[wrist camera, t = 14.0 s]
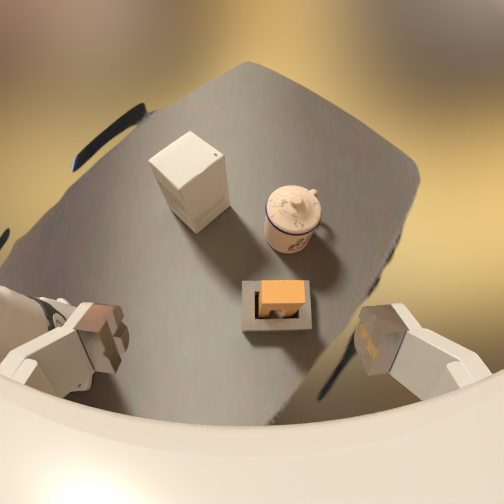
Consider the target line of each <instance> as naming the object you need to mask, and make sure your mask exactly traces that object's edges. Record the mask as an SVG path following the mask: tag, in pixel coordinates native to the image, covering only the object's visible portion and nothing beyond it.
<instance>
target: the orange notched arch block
mask: <svg viewBox="0 0 504 504" xmlns="http://www.w3.org/2000/svg"><path fill="white" fill-rule="evenodd" d="M304 304H305V288H304V280H262V282H261V288H260V293H259V298H258V317H268V315H269V313H270V311H271V310H282V317H291V316H293V315H294V314H295V313H296V312H297V311H298V310H299V309H300V308H301V307H302V306H303V305H304Z"/></svg>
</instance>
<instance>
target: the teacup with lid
mask: <svg viewBox="0 0 504 504" xmlns="http://www.w3.org/2000/svg"><path fill="white" fill-rule="evenodd" d="M317 195H318V192H317V191H316V190H314V189H312V190H310V191H308V190H307V189H305V188H302V187H299V186H284V187H281V188H279V189H277V190H275V191H274V192H273V193H272V194H271V195H270V196H269V198H268V200H267V202H266V220H265V227H264V234H265V238H266V240H267V242H268V244H269V245H270V246H271V247H272V248H274V249H275V250H277V251H279V252H282V253H296V252H298V251H300V250H302V249H303V248H304V247H305V246H306V245H307V244H308V242H309V240H310V238H311V236H312V234H313V232H314V230H315V228H316V227H317V226H318V224H319V223H320V220H321V216H322V211H321V206H320V203H319V201H318V199H317Z"/></svg>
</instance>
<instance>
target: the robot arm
mask: <svg viewBox="0 0 504 504" xmlns="http://www.w3.org/2000/svg"><path fill="white" fill-rule="evenodd" d="M123 317H124V315H123V312H122V308H121V307H119V306H116V305H107V304H98V303H87V302H84V303H81V304H80V305H79V306H78V308H77V307H74V306H72V305H70V303H69V302H68V301H66V300H65V299H62V298H59V299H57V300H56V301H55V300H51V299H48V298H44V297H42V298H37V297H32V296H24V295H21V294H19V293H17V292H15V291H12V290H10V289H8V288H6V287H4V286H0V504H504V369H503V370H501V371H499V372H497V373H495V374H493V375H492V374H491V372H490V371H489V369H488V368H487V367H486V366H485V364H484V363H483V361H482V360H481V359H480V357H479V356H478V355H477V354H476V353H474V352H472V351H470V350H468V349H466V348H464V347H462V346H460V345H458V344H456V343H454V342H452V341H450V340H448V339H446V338H444V337H442V336H441V335H439V334H437V333H435V332H433V331H431V330H429V329H426V328H425V329H422V327H421V326H420V325H419V323H418V322H417V321H416V319H415V318H414V317H413V316H412V314H411V313H410V312H409V310H408V309H407V308H406V307H405V305H404V304H402V303H394V304H388V305H379V306H378V305H377V306H366V307H363V308H362V309H361V311H360V315H359V318H360V320H361V323H360V324H359V325H358V326H357V327H356V330H355V335H354V343H355V348H356V350H357V353H358V354H360V355H361V356H363V360H362V364H363V366H364V369H365V371H366V373H367V375H375V374H382V373H389V372H390V373H389V374H390V375H392V376H393V377H394V378H395V379H397V380H398V381H399V382H400V383H402V384H403V385H404V386H405V387H407V388H408V389H409V390H410V391H411V392H413V393H414V394H415V395H416V396H418V397H419V398H420V399H421V400H422V401H421V402H417V403H414V404H411V405H406V406H403V407H399V408H395V409H391V410H386V411H383V412H378V413H373V414H368V415H363V416H357V417H351V418H345V419H339V420H332V421H324V422H315V423H306V424H293V425H278V426H215V425H199V424H187V423H177V422H169V421H161V420H154V419H147V418H141V417H135V416H130V415H125V414H120V413H115V412H111V411H106V410H102V409H98V408H94V407H90V406H86V405H83V404H79V403H76V402H72V401H69V400H66V399H63V397H65V396H66V395H67V394H68V393H70V392H72V391H87V390H89V389H90V388H91V383H92V375H93V373H94V372H95V371H98V372H105V373H111V374H116V372H117V369H118V367H119V365H120V363H121V358H120V355H122V354H123V353H125V352H126V350H127V348H128V344H129V332H128V328H127V326H126V325H125V324H124V323H123V322H122V319H123ZM79 384H81V386H80V385H79Z"/></svg>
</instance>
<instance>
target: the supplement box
mask: <svg viewBox="0 0 504 504" xmlns="http://www.w3.org/2000/svg"><path fill="white" fill-rule="evenodd" d="M148 162H149V164H150V166H151V169H152V171H153V173H154V175H155V177H156V180H157V182H158V184H159V186H160V188H161V191H162V193H163V195H164V197H165V199H166V201H167V204H168V206H169V208H170V209H171V210H172V211H173V212H174V213H175V214H176V215H177V216H178V217H179V218H180V219H181V220H182V221H183V222H184V223H185V224H186V225H187V226H188V227H189V228H190V229H191V230H192V231H193V232H195V233H196V234H198V233H199V232H200V231H201V230H202V229H203V228H205V227H206V226H207V225H208V224H209V223H210V222H212V221H213V220H214V219H215V218H216V217H217V216H218V215H220V214H221V213H222V212H223V211H224V210H226V209H227V208H228V207H229V206H230V200H229V192H228V183H227V175H226V166H225V156H224V155H223V154H221V153H220V152H219V151H217V150H216V149H214V148H213V147H212V146H210V145H209V144H207V143H206V142H205V141H203V140H202V139H201V138H199V137H198V136H196V135H195V134H194V133H192V132H191V131H189V132H188V133H186V134H185V135H183V136H182V137H180V138H179V139H177V140H176V141H174V142H173V143H172V144H170V145H169V146H167V147H166V148H165V149H163V150H162V151H160V152H159V153H158V154H156V155H155V156H154V157H152V158H151V159H150V160H148Z"/></svg>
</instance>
